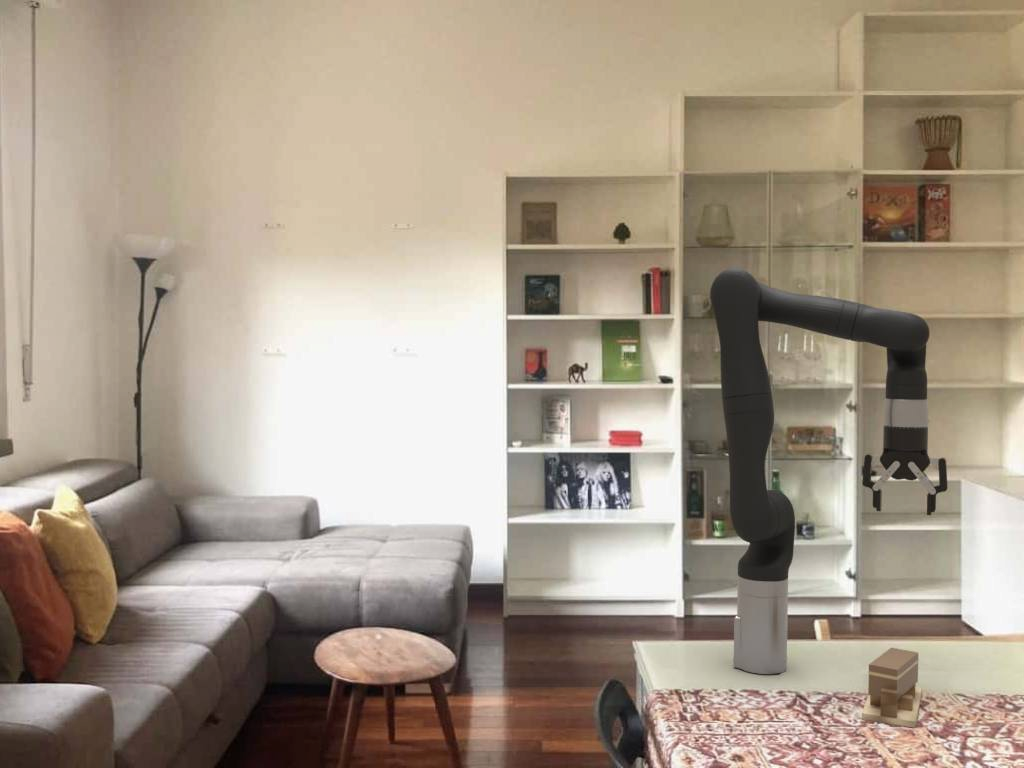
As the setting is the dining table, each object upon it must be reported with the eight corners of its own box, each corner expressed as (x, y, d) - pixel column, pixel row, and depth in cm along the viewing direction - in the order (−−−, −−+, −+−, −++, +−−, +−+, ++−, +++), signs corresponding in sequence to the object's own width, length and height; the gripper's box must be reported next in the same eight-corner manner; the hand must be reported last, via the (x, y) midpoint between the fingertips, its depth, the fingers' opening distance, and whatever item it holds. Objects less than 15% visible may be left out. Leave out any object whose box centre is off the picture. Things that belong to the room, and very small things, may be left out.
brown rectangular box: (867, 694, 159) (868, 664, 159) (890, 675, 169) (891, 647, 169) (896, 700, 156) (897, 670, 156) (918, 681, 166) (918, 652, 166)
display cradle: (861, 719, 156) (862, 688, 156) (872, 685, 173) (873, 657, 172) (915, 727, 153) (916, 696, 153) (921, 692, 169) (922, 664, 169)
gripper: (861, 423, 176) (860, 512, 177) (947, 426, 170) (945, 519, 171) (866, 421, 183) (864, 507, 184) (949, 424, 177) (947, 513, 177)
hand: (903, 512), depth 177 cm, fingers open, 8 cm apart
